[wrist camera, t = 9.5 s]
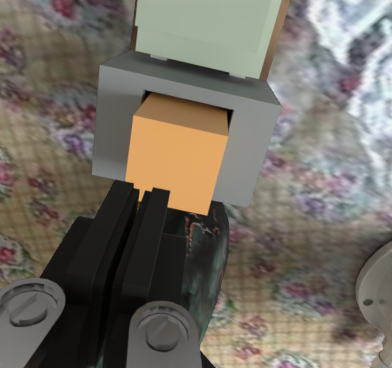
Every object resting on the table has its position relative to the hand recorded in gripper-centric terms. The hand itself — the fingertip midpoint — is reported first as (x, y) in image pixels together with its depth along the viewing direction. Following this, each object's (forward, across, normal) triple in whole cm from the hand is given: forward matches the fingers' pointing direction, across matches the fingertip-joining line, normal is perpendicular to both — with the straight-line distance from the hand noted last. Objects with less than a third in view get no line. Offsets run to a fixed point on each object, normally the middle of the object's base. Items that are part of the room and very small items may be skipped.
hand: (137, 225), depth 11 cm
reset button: (+10, -1, 0) cm, 10 cm away
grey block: (+14, -1, 0) cm, 15 cm away
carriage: (+13, -1, -7) cm, 15 cm away
